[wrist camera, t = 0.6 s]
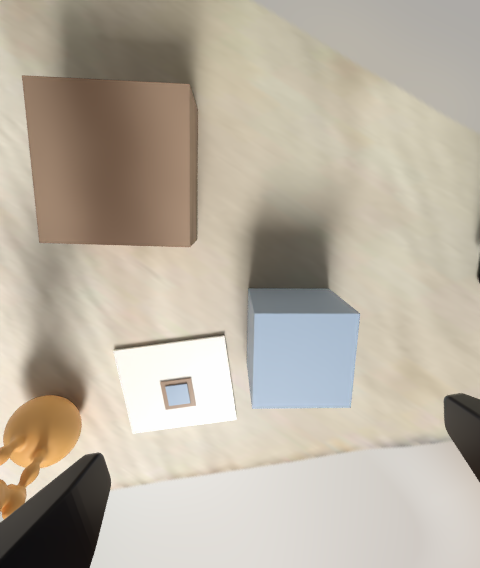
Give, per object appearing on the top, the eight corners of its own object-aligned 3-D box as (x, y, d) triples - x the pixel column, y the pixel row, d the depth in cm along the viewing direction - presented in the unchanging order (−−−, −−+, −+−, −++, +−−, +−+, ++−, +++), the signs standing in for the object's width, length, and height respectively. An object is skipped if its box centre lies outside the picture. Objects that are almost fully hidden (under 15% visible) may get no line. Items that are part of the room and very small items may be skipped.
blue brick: (328, 288, 20) (360, 313, 15) (322, 362, 21) (350, 407, 17) (248, 288, 20) (254, 313, 15) (246, 362, 21) (252, 408, 16)
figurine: (-12, 395, 21) (-314, 632, 9) (39, 327, 20) (-223, 494, 8) (96, 463, 22) (-47, 742, 11) (149, 402, 21) (55, 635, 10)
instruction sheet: (224, 335, 21) (224, 337, 20) (236, 417, 22) (236, 421, 22) (114, 349, 21) (112, 352, 20) (133, 431, 22) (131, 435, 22)
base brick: (198, 111, 18) (189, 84, 14) (197, 239, 19) (189, 247, 16) (67, 104, 18) (21, 75, 14) (77, 235, 19) (39, 242, 15)
